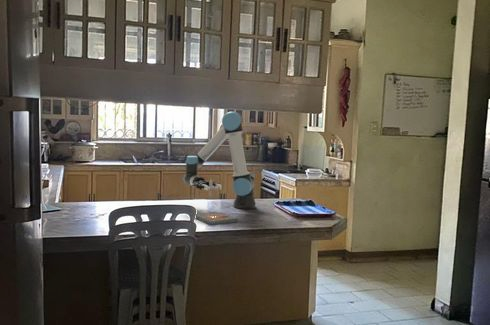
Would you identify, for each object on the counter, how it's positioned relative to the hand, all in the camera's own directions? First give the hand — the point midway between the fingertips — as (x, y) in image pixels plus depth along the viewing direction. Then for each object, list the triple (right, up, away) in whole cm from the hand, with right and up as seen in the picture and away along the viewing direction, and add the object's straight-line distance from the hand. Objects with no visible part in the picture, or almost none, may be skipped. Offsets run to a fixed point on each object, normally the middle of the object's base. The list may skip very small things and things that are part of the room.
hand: (214, 187), depth 274 cm
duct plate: (+1, -19, -5) cm, 19 cm away
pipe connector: (-3, -6, +5) cm, 8 cm away
